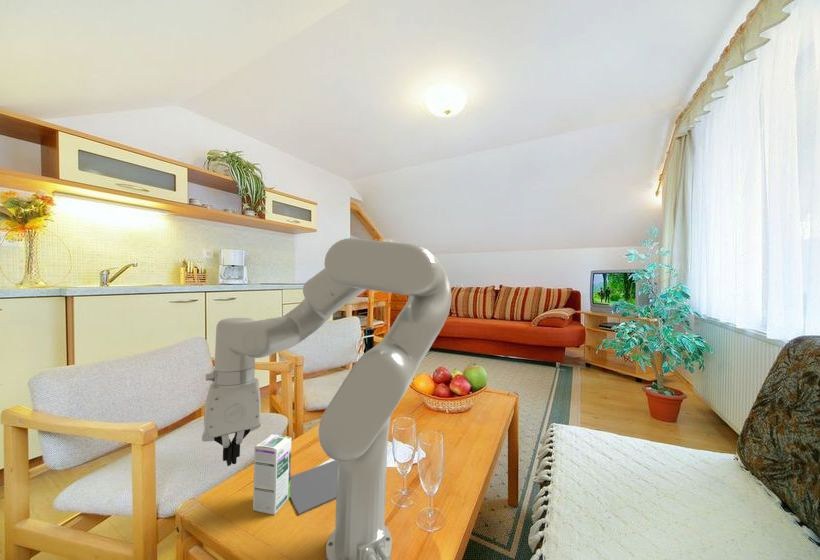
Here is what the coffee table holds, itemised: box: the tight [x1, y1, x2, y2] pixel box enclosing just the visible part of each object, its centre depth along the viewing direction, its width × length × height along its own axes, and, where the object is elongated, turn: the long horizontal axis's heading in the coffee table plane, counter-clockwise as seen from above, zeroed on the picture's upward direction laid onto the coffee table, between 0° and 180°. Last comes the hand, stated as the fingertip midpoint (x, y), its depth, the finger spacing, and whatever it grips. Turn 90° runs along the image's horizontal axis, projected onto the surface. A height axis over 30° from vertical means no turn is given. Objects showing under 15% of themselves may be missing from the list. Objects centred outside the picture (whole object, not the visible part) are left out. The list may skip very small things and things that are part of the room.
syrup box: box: [252, 433, 292, 516], centre depth 68 cm, size 6×6×14 cm
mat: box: [289, 460, 338, 516], centre depth 75 cm, size 14×15×1 cm
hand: (231, 461), depth 63 cm, fingers closed
